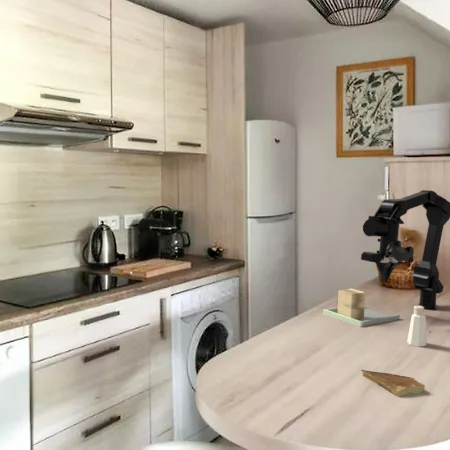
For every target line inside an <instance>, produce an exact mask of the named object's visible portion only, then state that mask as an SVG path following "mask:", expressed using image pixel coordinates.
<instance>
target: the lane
mask: <svg viewBox="0 0 450 450" xmlns="http://www.w3.org/2000/svg"><path fill="white" fill-rule="evenodd" d="M322 314H323V315H325V316H328V317H330V318H334V319H336V320H340V321H343V322H345V323H347V324H351V325H354V326H356V327H360V328H362V327H368V326H373V325H377V324H381V323H389V322H391V321H398V320H400V318H401V317H400V314H398V313H397V314H392V315H387V314H385V313H381V312H378V311H375V310H371V309H368V308H365V307H364V319H363V320H356V319H353V318H350V317H347V316H344V315H341V314H338V306H337V307H331V308H326V309H325V308H324V309H322Z"/></svg>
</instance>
